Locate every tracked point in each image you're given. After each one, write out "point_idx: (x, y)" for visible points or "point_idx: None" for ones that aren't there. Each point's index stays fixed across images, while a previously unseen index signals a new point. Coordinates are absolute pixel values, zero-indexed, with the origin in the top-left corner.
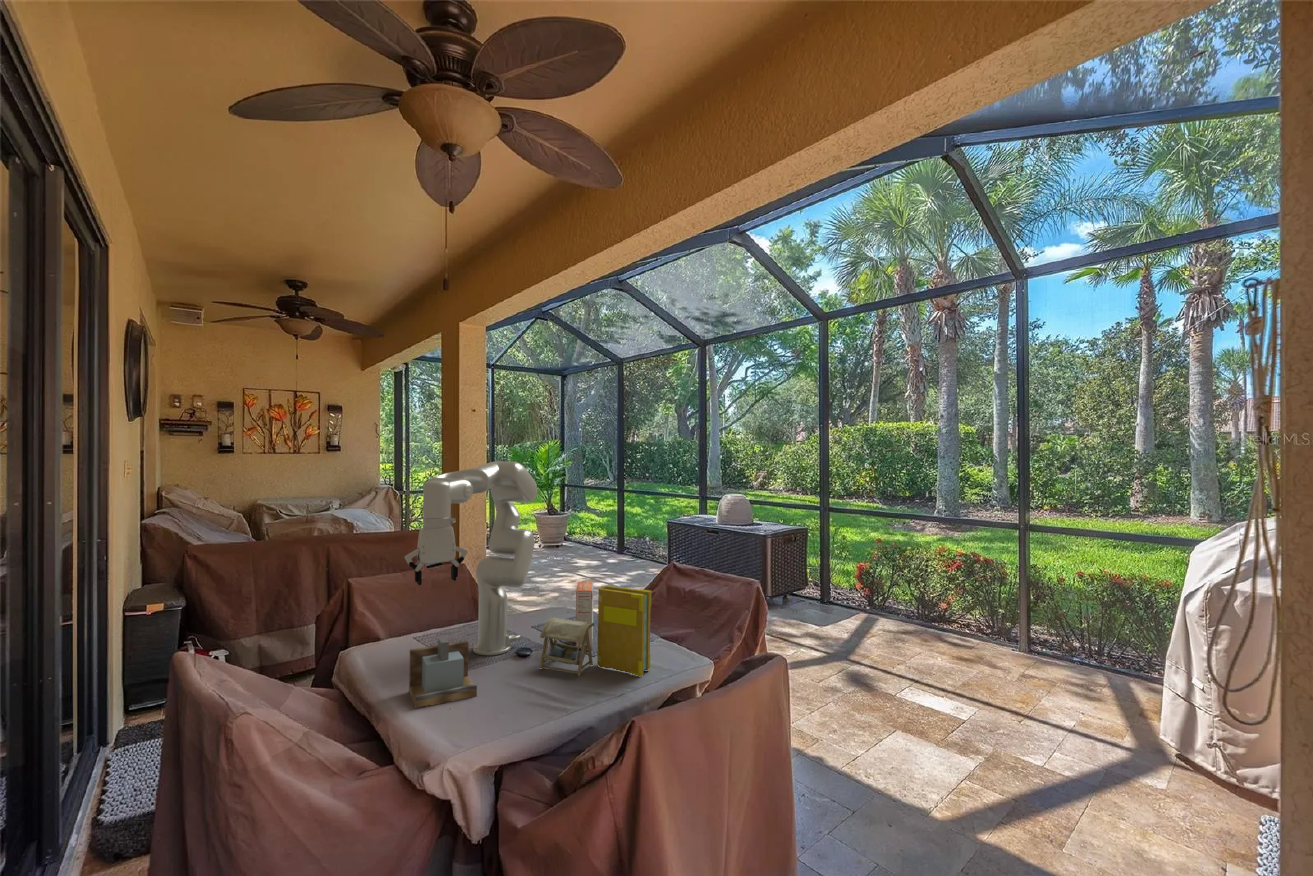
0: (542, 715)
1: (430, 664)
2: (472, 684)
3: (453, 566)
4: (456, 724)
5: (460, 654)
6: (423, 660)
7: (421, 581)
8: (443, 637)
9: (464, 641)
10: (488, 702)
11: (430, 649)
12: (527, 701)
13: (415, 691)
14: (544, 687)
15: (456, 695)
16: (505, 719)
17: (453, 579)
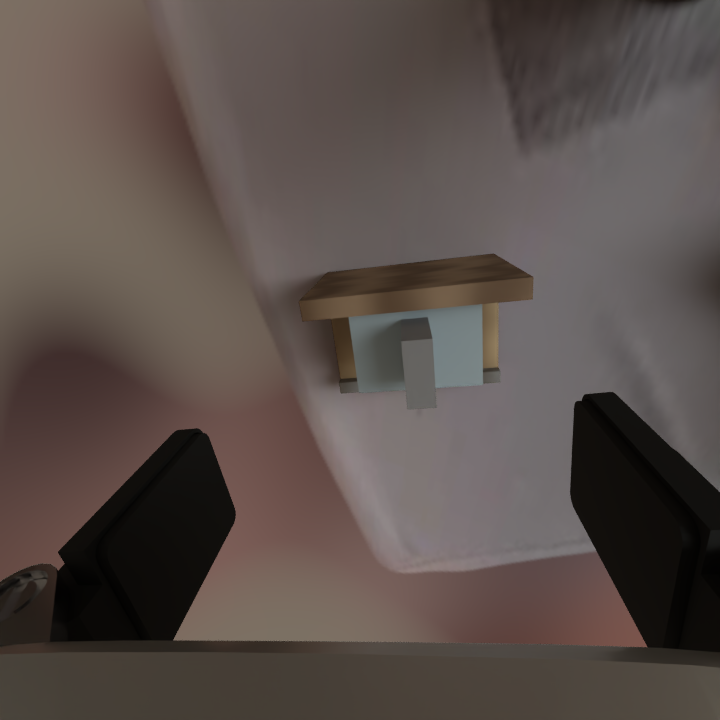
0: None
1: (371, 391)
2: (490, 372)
3: (690, 642)
4: (420, 481)
5: (480, 343)
6: (351, 337)
7: (223, 542)
8: (424, 346)
9: (519, 283)
10: (510, 414)
11: (375, 313)
12: None
13: (341, 330)
14: (682, 387)
15: None
16: (518, 500)
17: (575, 506)
